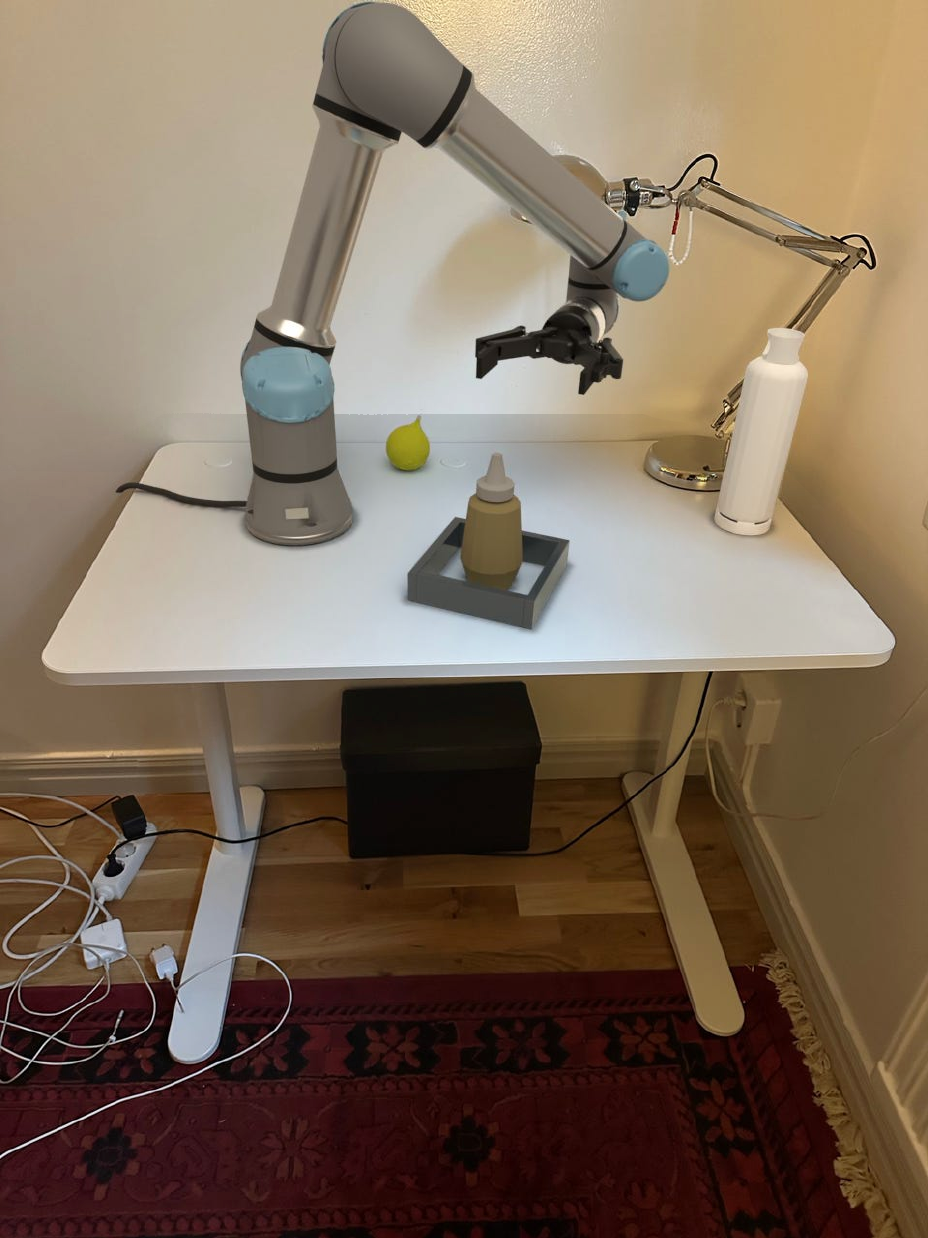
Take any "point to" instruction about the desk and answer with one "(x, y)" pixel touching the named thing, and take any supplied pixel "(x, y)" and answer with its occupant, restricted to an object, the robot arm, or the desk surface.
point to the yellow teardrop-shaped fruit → (408, 446)
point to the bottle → (762, 434)
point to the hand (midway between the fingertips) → (529, 376)
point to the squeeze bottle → (493, 530)
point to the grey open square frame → (479, 597)
